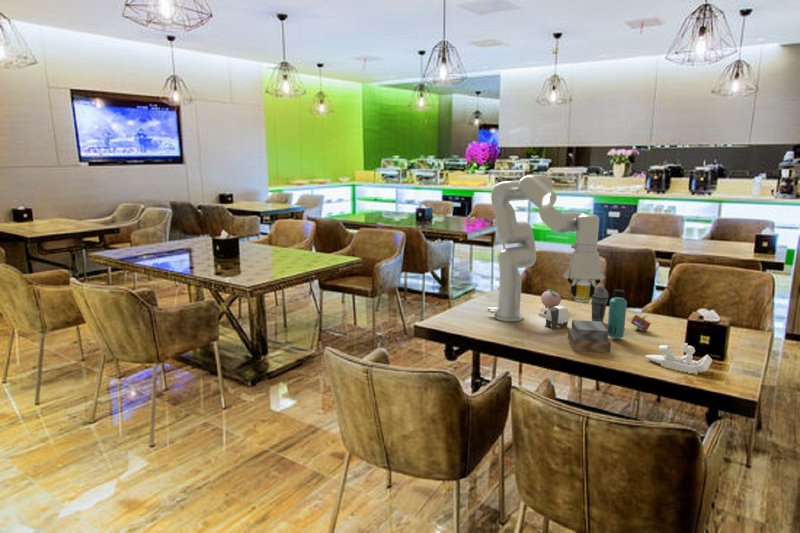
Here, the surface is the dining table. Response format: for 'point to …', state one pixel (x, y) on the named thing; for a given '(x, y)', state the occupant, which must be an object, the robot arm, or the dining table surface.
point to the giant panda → (555, 316)
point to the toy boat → (681, 360)
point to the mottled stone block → (589, 336)
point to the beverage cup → (599, 303)
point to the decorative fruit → (550, 298)
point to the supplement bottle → (582, 290)
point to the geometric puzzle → (640, 323)
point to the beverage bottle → (617, 315)
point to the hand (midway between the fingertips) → (582, 295)
